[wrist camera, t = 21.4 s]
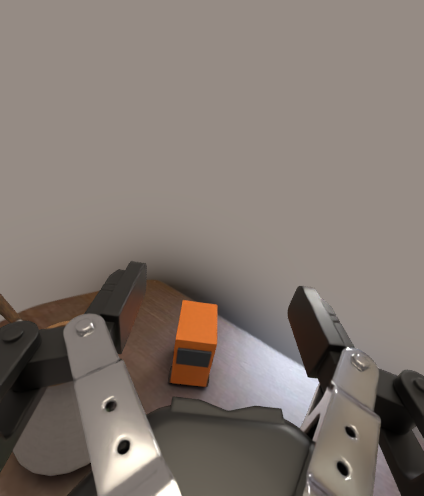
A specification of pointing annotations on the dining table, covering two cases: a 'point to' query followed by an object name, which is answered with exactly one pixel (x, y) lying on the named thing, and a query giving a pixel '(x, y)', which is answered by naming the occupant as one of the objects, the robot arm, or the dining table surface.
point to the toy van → (194, 344)
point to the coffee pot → (51, 426)
